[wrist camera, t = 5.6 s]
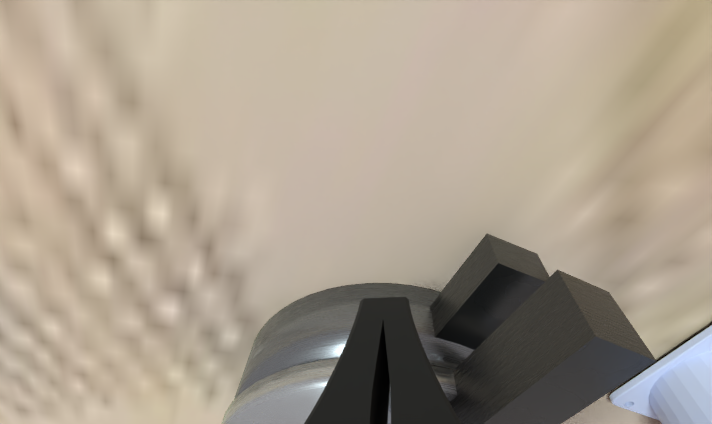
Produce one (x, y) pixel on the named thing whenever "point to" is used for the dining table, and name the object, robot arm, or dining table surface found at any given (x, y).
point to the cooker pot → (428, 307)
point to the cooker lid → (498, 365)
